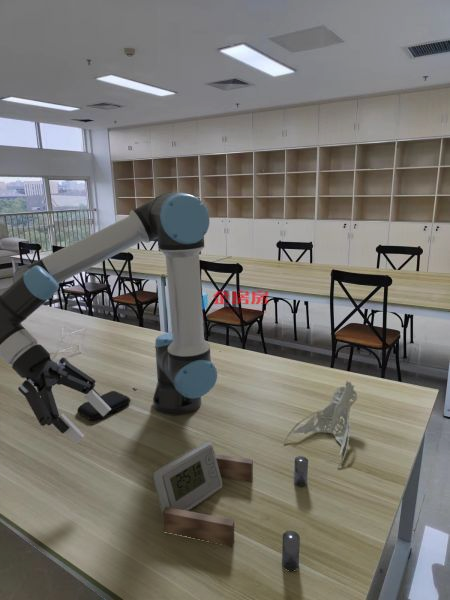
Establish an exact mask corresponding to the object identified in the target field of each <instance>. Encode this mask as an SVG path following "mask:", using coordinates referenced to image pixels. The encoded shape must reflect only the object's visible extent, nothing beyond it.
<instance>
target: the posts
mask: <svg viewBox="0 0 450 600" xmlns="http://www.w3.org/2000/svg"><path fill="white" fill-rule="evenodd" d="M293 468H294V469H293V472H294V473H293V484H294V485H295V486H296V487H297V488H305V487H307V486H308V476H309V474H308V472H309V471H308V470H309V460H308V458H307V457H305V456H303V455H301V456H300V455H299V456H296V457H294V467H293ZM300 543H301V536H300V535H299V533H298V532H296V531H293V530H286V531H285V532H284V533H283V534H282V547H281V548H282V549H281V552H282V554H281V566H282V565H283V566H282V568H283V567H284V568H285V569H287V570H289V571H294V570H296V569H297V568H298V569H299V566H300V547H301V546H300V545H301V544H300ZM284 568H283V569H284ZM285 569H284V570H285ZM298 569H297V570H298ZM287 570H286V571H287ZM297 570H296V571H297ZM289 571H288V572H289ZM294 572H295V571H294Z"/></svg>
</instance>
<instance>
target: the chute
mask: <svg viewBox="0 0 450 600" xmlns="http://www.w3.org/2000/svg"><path fill="white" fill-rule="evenodd" d="M215 456H216V460H217V464H218V468H219V471H220V475H221V479H222V478H224V479H228V480H235V481H240V482H241V481H242V482H246V483H248V482H249V483H252V482H253V478H254V475H253V474H254V471H253V470H254V460H253V459H251V458H243V457H239V456H238V457H237V456H231V455H224V454H217V453H215ZM162 523H163V533H164V532H167V533H172V534H177V535H182V536H187V537H191V538H195V539H200V540H204V541H209V542H212V543H211V544H213V543H217V544H216V545H218V544H222V545H221V546H223V545H226V546H225V547H227V546H229V547H228V548H232V547H233V548H234V543H235V519H232V518H226V517H220V516H216V515H210V514H205V513H199V512H195V511H191V510H189V511H185V510H180V509H175V508H169V507H165V509H164V511H163V515H162Z"/></svg>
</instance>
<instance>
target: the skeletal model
mask: <svg viewBox="0 0 450 600" xmlns="http://www.w3.org/2000/svg"><path fill="white" fill-rule="evenodd" d="M345 382H346V383H345V386H340V387H339V388H338V387H337V388H336V389H335V391H334V392H333V395H332V398H331V401H330V402H328V403H329V404H328V405H326V406H325V407H324V408H323V409H320V410H316V411H314V412H313V413H309V414H308V416H306V417H304V418H302V419H301V420H300V421H299V422H297V423H296V424H295V425H294V426H293V428H292V429H290V431H289V433H288V434H287V435H286V437H285V439H284V442H283V444H284V445H285V444H286V442H287V440H288V438H289V436H290V435H291V434H292V435H295V434H302V433H303V434H304V435H306V434H308V433H311V432H312V433H313V432H314V433H323V434H324V433H325V434H326V433H329V434H332V435H333V437H334V439H335V441H337V442H338V443H339V444H340V452H339V455H338V456H340V457H341V456H342V454H343V450H344V448H345V445H346V448H345V451H344V455H343V457H342V459H341V460H340V462H339V464H338V467H337V469H338V468H340V467H341V465H342V464H343V463H344V459H345V458H346V455H347V452H348V450H349V442H350V434H351V433H350V432H351V420H350V410H351V407H352V406H353V405H354V403H355V402H356V401H357V400H358V394H357V392H356V390H355V389H354V387H355V385H354V384H353V383H352V382H351V381H349V380H346V381H345ZM350 400H353V401H350ZM315 414H316V416H315ZM313 415H314V416H313ZM311 416H312V417H311ZM309 417H311V418H310V419H309V420H308V421H307V422H306V423H305V424H302V425H301V426H299V425H300V424H301V423H302V422H304V421H306V419H308V418H309ZM341 417H342V418H341ZM316 419H318V420H317V421H316ZM315 421H316V423H315ZM337 424H338V425H339V426H338V425H337ZM298 426H299V427H298ZM297 427H298V428H297ZM335 427H337V430H336V428H335ZM296 428H297V429H296ZM346 440H347V441H346ZM346 442H347V443H346Z"/></svg>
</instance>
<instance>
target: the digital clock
mask: <svg viewBox="0 0 450 600" xmlns="http://www.w3.org/2000/svg"><path fill="white" fill-rule="evenodd" d="M215 454H216V453H215V450H214V446H213V443H212V442H211V441H206V442H203V443H201V444H200V445H198V446H195V447H193V448H191V449H190V450H187V451H186V452H184V453H182V454H181V455H179V456H176V458H173V459H172V460H170V461H168V462H167V463H166V464H164V465H162V466H161V467H159V468H157V469H156V470H154V471H153V472H152V480H153V484H154V488H155V492H156V494H157V499H158V502H159V503H158V504H159V507H160V510H161V515H162V516H163V511H164V509H165V507H169V508H175V509H180V510H185V511H191V510H192V509H193V507H194V508H195V507H197V506H198V505H199V503H200V504H201V503H202V502H204V501H206V500H207V499H208V498H210V497H211V496H212V495H213V494H215V493H216V492H217V491H219V490H220V489H221V488H222V487H223V480H222V477H221V475H220V471H219V468H218V464H217V460H216V456H215ZM196 505H197V506H196ZM190 509H191V510H190Z"/></svg>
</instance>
